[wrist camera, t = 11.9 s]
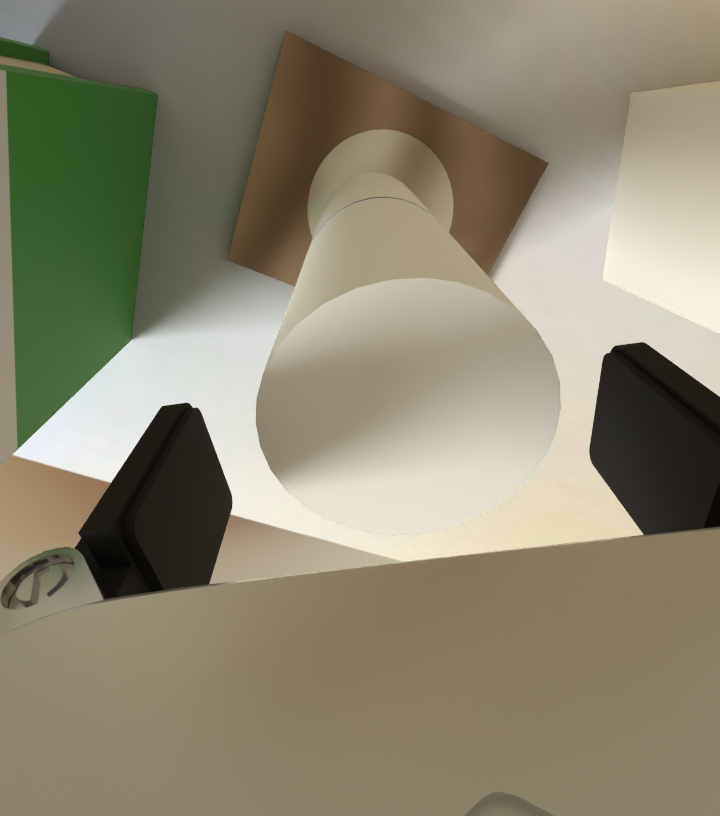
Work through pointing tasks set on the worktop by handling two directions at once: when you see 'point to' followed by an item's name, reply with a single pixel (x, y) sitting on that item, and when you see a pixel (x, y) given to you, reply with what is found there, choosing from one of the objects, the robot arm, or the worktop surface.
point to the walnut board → (369, 162)
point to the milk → (670, 202)
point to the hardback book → (65, 231)
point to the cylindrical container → (401, 374)
